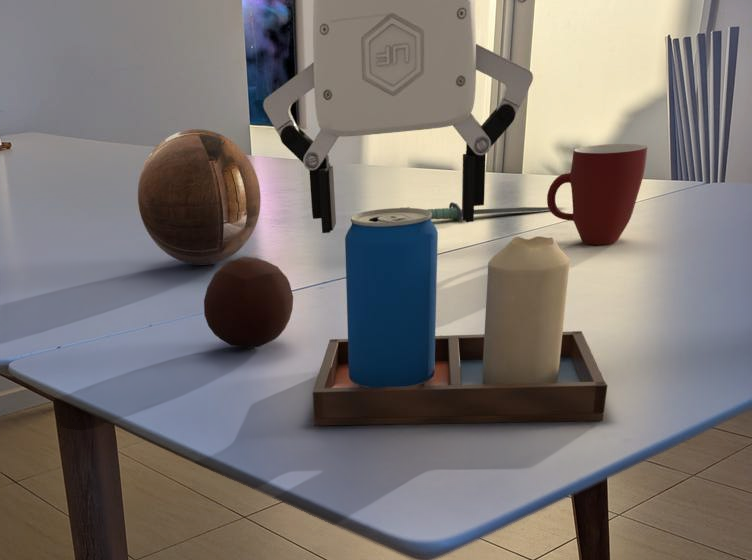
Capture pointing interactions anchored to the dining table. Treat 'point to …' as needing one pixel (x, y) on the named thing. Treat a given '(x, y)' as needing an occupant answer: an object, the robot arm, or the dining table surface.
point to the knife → (478, 211)
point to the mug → (602, 190)
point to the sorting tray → (462, 389)
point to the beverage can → (391, 297)
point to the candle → (525, 312)
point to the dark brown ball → (248, 302)
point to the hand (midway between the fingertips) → (397, 223)
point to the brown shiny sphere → (199, 197)
